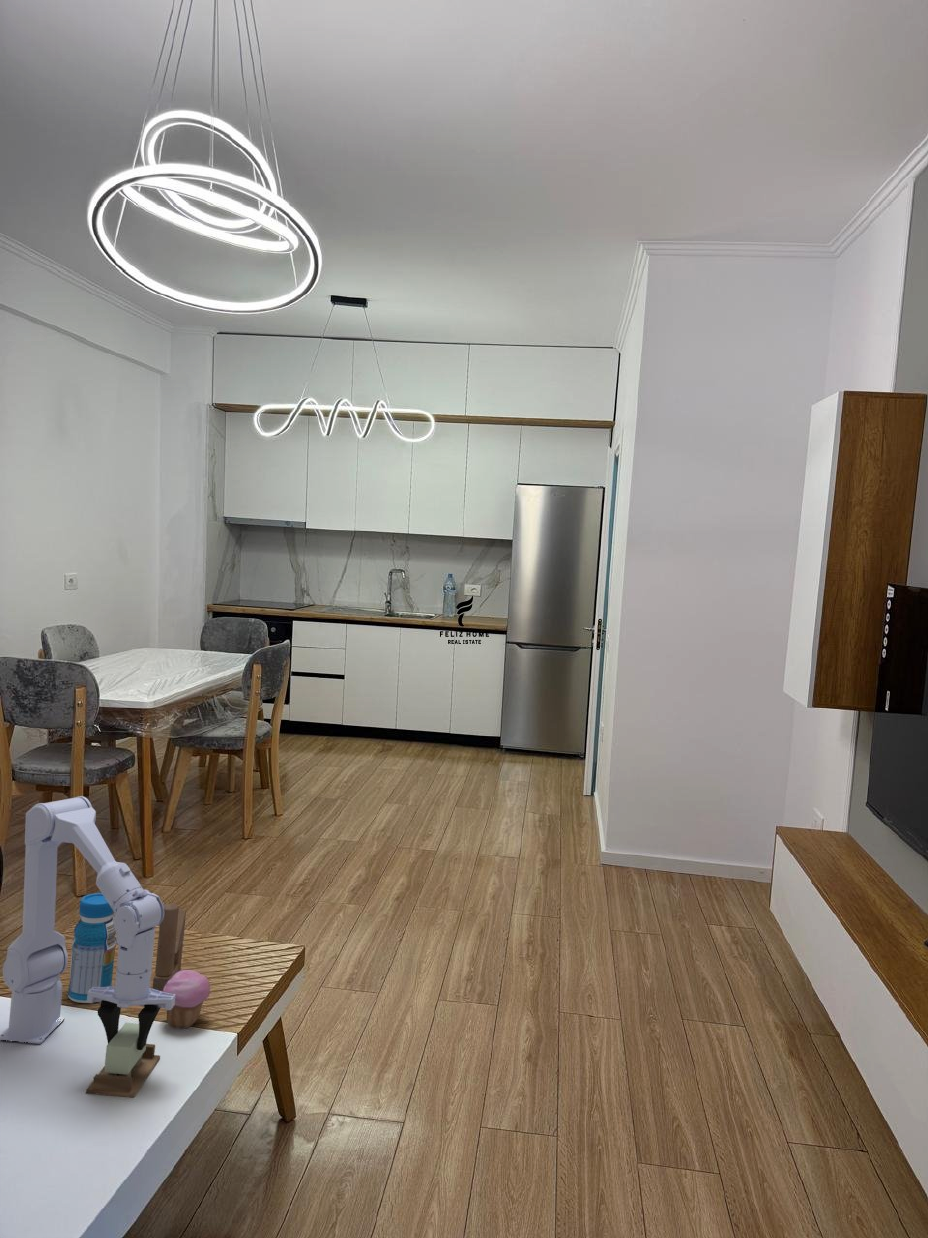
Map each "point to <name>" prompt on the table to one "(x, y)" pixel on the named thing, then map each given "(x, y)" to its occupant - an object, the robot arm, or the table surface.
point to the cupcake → (186, 997)
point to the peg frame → (125, 1077)
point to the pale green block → (123, 1050)
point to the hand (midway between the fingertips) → (127, 1046)
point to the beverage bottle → (92, 948)
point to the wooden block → (169, 945)
